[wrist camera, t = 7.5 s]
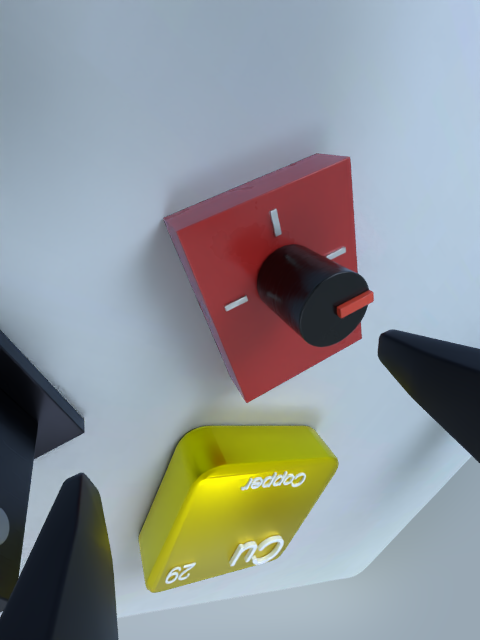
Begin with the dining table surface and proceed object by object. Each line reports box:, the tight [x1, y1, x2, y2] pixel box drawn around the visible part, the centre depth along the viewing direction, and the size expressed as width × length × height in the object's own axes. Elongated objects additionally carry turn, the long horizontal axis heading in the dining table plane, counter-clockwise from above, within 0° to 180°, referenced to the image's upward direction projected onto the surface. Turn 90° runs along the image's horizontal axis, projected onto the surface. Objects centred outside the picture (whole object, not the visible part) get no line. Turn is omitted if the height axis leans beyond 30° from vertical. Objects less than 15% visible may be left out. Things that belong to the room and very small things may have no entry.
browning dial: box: [257, 244, 374, 347], centre depth 17 cm, size 4×4×5 cm
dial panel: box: [163, 154, 362, 403], centre depth 21 cm, size 13×10×3 cm
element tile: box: [139, 426, 339, 593], centre depth 30 cm, size 15×15×5 cm
